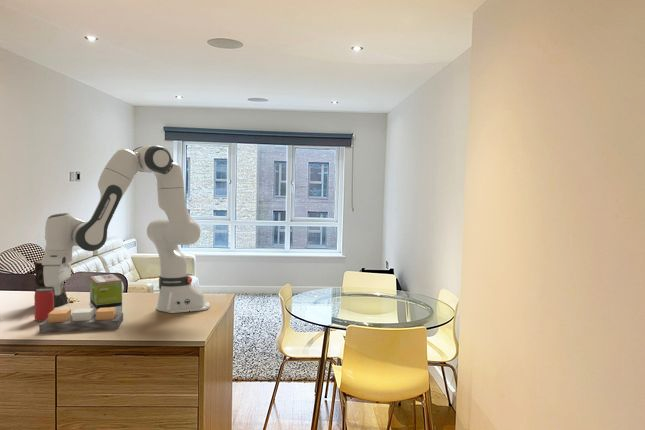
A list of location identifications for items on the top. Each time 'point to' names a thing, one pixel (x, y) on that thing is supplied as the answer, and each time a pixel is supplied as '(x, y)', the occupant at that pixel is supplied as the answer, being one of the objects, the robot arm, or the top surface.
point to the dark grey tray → (81, 325)
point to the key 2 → (106, 313)
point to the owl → (39, 283)
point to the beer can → (43, 303)
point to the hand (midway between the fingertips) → (58, 294)
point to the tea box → (106, 292)
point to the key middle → (83, 314)
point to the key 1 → (59, 315)
